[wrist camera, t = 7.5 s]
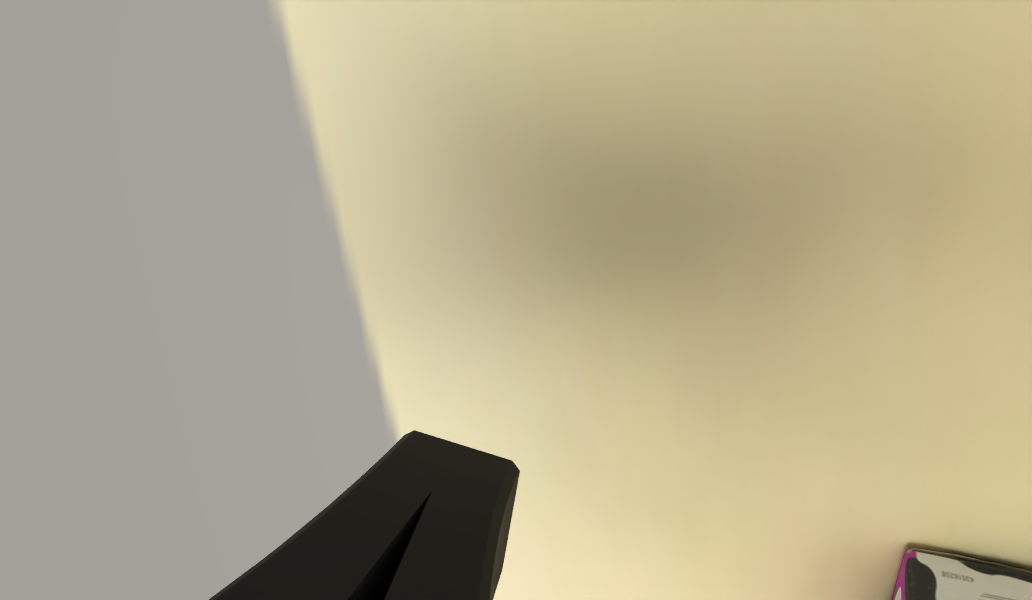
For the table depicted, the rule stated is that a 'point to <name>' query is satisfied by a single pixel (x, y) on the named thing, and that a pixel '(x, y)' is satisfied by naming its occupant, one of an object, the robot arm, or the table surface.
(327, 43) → the table surface
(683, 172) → the table surface
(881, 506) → the table surface
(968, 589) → the candy bar box
